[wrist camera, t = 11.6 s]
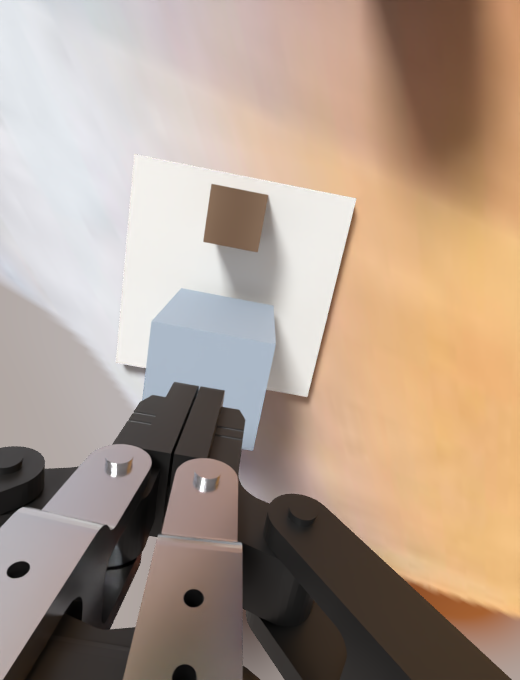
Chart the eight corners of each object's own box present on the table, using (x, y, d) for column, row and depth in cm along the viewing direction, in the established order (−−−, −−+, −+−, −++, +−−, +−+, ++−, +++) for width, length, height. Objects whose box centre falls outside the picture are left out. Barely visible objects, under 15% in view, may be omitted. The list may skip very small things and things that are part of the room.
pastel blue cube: (273, 305, 24) (275, 344, 18) (256, 388, 26) (252, 450, 20) (181, 288, 24) (151, 321, 18) (169, 373, 26) (138, 431, 19)
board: (352, 198, 24) (356, 198, 23) (305, 390, 28) (307, 397, 27) (139, 155, 24) (134, 153, 23) (120, 357, 28) (115, 362, 27)
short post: (268, 194, 23) (268, 195, 20) (259, 243, 24) (257, 252, 20) (220, 185, 23) (211, 183, 20) (213, 234, 24) (203, 241, 20)
